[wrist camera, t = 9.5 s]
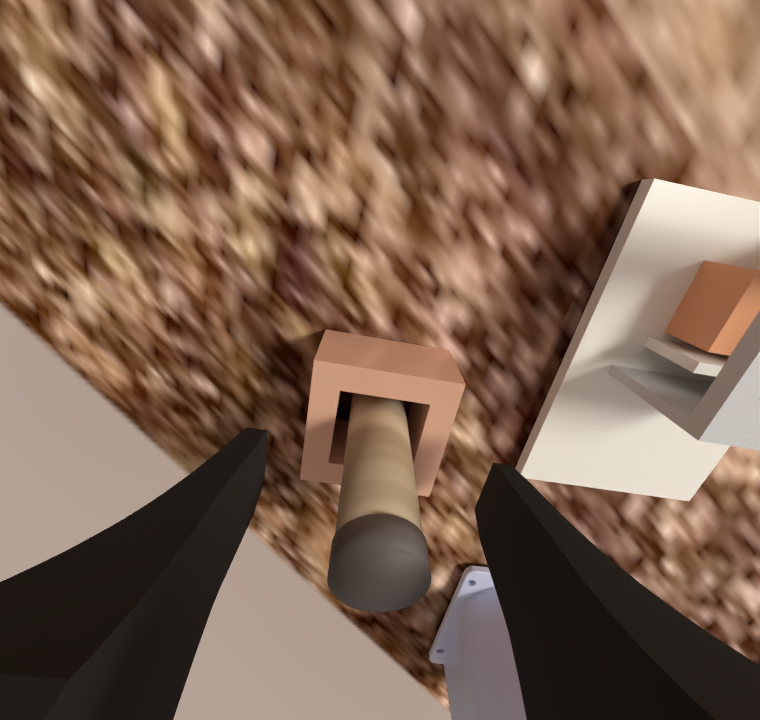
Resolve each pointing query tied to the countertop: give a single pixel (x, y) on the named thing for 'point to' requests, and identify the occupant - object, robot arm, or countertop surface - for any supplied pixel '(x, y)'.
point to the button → (717, 307)
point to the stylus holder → (382, 379)
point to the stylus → (378, 513)
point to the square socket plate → (653, 358)
